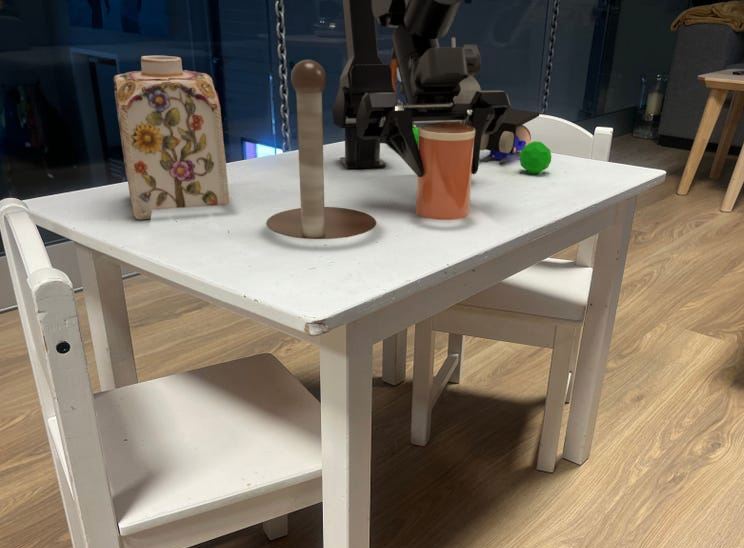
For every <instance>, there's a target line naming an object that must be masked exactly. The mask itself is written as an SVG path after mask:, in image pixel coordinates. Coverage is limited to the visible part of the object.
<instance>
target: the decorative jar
mask: <svg viewBox="0 0 744 548" xmlns="http://www.w3.org/2000/svg"><path fill="white" fill-rule="evenodd" d="M182 61H183V60H182V58H181V57H179V56H171V55H142V56H141V58H140V65H141V70H134V71H133V70H132V71H128V72H125V73H120V74H116V75H114V77H113V85H114V86H113V89H114V90H113V91H114V92H113V93H114V98H115V105H116V112H117V113H116V114H117V120H118V126H119V133H120V140H121V148H122V155H123V156H122V157H123V162H124V168H125V175H126V179H127V184H128V191H129V198H130V203H131V207H132V213H133V215H134V218H135V219H136V220H139V221H143V220H151V219H152V213H153V211H155V210H169V209H181V208H183V209H184V208H196V207H209V206H211V207H212V206H228V205H230V199H229V184H228V183H229V182H228V172H227V171H228V170H227V161H226V151H225V150H226V149H225V142H224V133H223V131H224V130H223V122H222V113H221V112H222V111H221V104H220V98H219V94H218V92H217V91H216V90H215V87H216V85H215V84H214V82H213V79H212V77H211V76H210V75H209V74H207V73H204V72H199V71H193V70H187V69H184V70H183V65H182V63H183V62H182Z"/></svg>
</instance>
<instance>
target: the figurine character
mask: <svg viewBox="0 0 744 548" xmlns="http://www.w3.org/2000/svg"><path fill="white" fill-rule="evenodd" d="M539 117H540V112H538V111H532V110H531V111H530V110H524V109H517V108H511V109H510V110H509V112H508V113H507V115H506V117H505V118H504V120H503V122H502V123H501V125H500V127H499V128H498V130H497V131H496V132H495V133H492V134H484V135H483V136H482V138H481V146H480V151H489V154H488V155H486V156H485V157H484V158H483V161H485V162H488V161H490V160H491V159H492V158H495V159H500V160H499V164H503V163H505V162H506V161H507V160H508V159H509V157H510V156H509V155H513V154H515V153H520V152H521V150H522V148H523V147H525V146H526V145H528V144H529V143H531V141H532V135H531V132H530V130H529V128H528V127H526V126H525V124H527V123H530V122H531V121H533V120H534V119H536V118H539Z"/></svg>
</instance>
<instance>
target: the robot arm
mask: <svg viewBox="0 0 744 548" xmlns="http://www.w3.org/2000/svg"><path fill="white" fill-rule="evenodd" d="M462 2H463V0H342V6H343V7H342V8H343V18H344V19H343V20H344V30H345V39H346V51H347V62H346V63H345V66H344V68H343V70H342V72H341V75H340V78H339V88H338V90H337V94H336V96H335V100H334V104H333V107H332V110H331V111H332V122H333V125H335V126H337V127H338V128H340V129H344V156H340V157H339V161H340V163H341V164H343V166H344V167H345V168H346V169H370V168H372V169H373V168H386V167H387V163H385V162H384V161H383V160H382V159H381V144H385V145H387V146H388V147H389V149H391V150H392V151H394V153H396V154H397V155H398V156H399V158H401V160H403V161H404V162H405V164H406V165H407V166H408V167H409V168H410V169H411V171H412V172H413V173H414V174H415V175H416V177H417V176H418V177H422V176H423V174H424V169H423V163H422V159H421V156H420V152H419V149H418V146H417V142H416V139H415V136H414V132H413V127H412V126H413V123H415V124H423V123H424V124H429V123H436V122H461V124H462V125H466V126H470V127H473V128H475V130H476V131H475V139H474V152H473V166H472V175H476V174H477V172H478V171H479V164H480V153H481V150H480V146H481V138H482V136H483V135H484V134H492V133H495V132H496V131H497V130H498V128H499V127H500V125H501V123H502V122H503V120H504V118H505V117H506V115H507V113H508V112H509V110H510V109H512V105H511V101H510V97H509V95H508V94H507V92H506V91H505V90H481V91H476V93H475V95H474V97H473V99H472V100H471V102H470V104H454V99H453V98H454V96H458V95H459V93H460V91H461V88H460V84H459V83H460V82H461V81H462V80H464V79H467V78H468V77H469V76H472V77H474V76H475V75H476V74H478V73H479V72H480V71H481V69H482V58H481V53H480V51H479V48H478V46H477V44H462V45H461V46H456V47H452V46H440V44H439V40H438V39H442V38H443V37H445V36H447V35H448V32H449V30H450V28H451V26H452V24H453V22H454V20H455V18H456V15H457V13H458V10H459V8H460V7H461V4H462ZM376 22H377V24H378V25H379V26H380V28H395V29H394V31H393V33H392V35H391V45H392V47H391V49H390V54H389V55H390V59H391V60H396V64H397V69H398V73H399V78H400V84H399V87H398V88H399V93H400V95H404V97H405V101H406V102H404V101H403V99H398V96H397V93H396V90H395V88H394V86H393V79H392V78H393V76H392V75H393V74H392V68H391V66H390V65H389V64H388V63H384V62H383V60H382V58H381V57H380V56H379V49H378V36H377V35H378V34H377V25H376Z"/></svg>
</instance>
